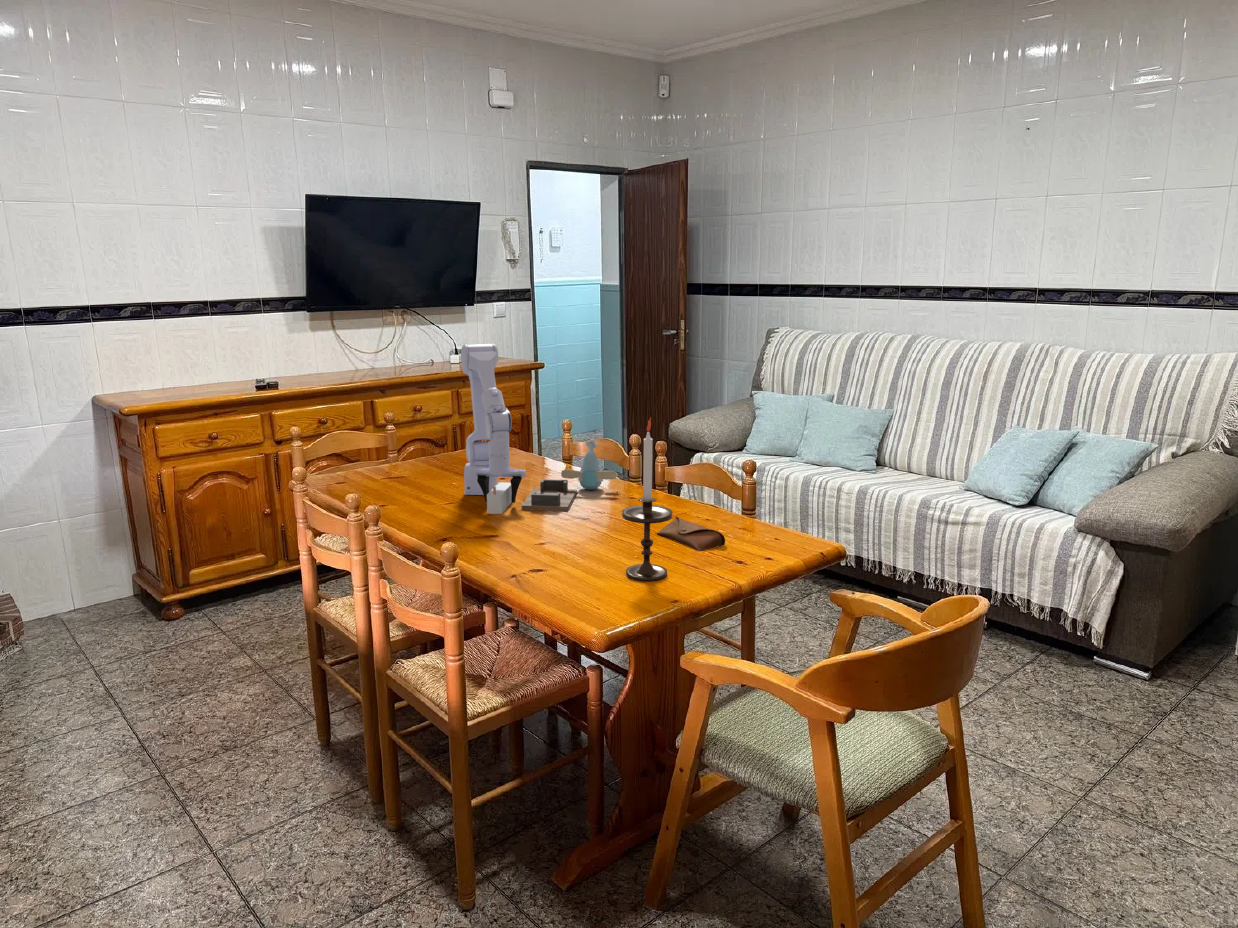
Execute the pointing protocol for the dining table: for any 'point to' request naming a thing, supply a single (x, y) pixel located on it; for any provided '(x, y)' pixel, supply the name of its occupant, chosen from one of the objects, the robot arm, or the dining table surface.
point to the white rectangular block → (499, 498)
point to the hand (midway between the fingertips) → (500, 501)
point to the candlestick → (647, 520)
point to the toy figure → (590, 470)
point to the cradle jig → (550, 496)
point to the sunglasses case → (692, 535)
